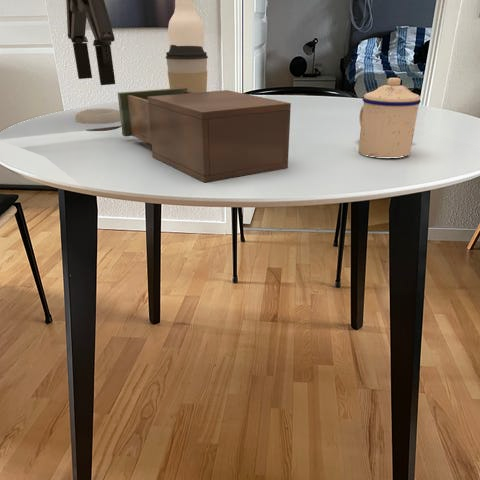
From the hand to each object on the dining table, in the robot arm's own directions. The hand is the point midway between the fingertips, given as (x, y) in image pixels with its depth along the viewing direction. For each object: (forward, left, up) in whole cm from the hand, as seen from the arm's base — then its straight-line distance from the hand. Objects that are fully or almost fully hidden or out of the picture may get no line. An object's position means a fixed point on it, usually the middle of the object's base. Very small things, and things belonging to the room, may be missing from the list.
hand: (96, 81), depth 100 cm
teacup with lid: (+47, +33, -9) cm, 58 cm away
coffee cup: (+2, +20, -9) cm, 22 cm away
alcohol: (-19, +31, -9) cm, 37 cm away
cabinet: (+38, +6, -9) cm, 39 cm away
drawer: (+22, +6, -8) cm, 24 cm away
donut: (0, 0, -9) cm, 9 cm away
